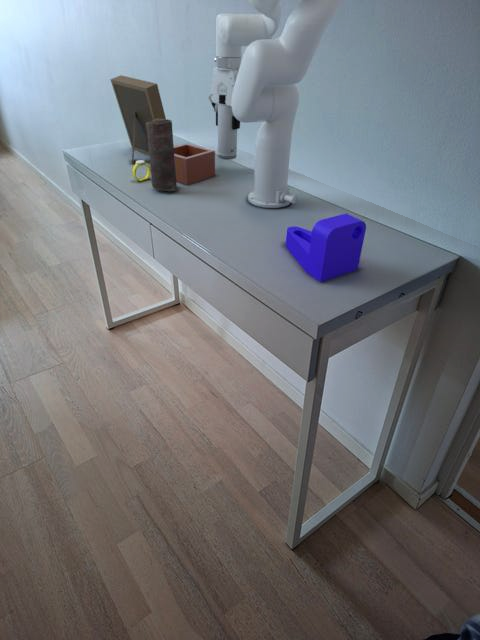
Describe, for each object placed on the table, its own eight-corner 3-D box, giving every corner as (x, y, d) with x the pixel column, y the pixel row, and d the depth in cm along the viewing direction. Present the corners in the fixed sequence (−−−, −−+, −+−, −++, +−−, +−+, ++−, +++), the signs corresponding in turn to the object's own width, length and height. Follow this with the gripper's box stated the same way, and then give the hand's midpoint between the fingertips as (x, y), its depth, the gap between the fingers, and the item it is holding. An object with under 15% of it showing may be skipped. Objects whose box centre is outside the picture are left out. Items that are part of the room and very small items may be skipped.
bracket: (357, 269, 101) (367, 219, 94) (320, 281, 96) (328, 230, 89) (305, 238, 113) (311, 192, 106) (270, 248, 108) (273, 200, 101)
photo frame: (141, 146, 175) (134, 74, 161) (175, 160, 163) (171, 82, 148) (107, 153, 167) (96, 77, 152) (140, 167, 154) (132, 86, 140)
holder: (215, 175, 150) (215, 150, 145) (187, 185, 142) (186, 159, 137) (187, 167, 157) (186, 143, 152) (159, 175, 148) (157, 150, 144)
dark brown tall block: (160, 195, 134) (154, 123, 122) (147, 188, 138) (140, 118, 127) (181, 190, 138) (178, 120, 126) (168, 183, 142) (164, 115, 131)
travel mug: (237, 160, 149) (239, 93, 137) (217, 159, 149) (217, 92, 137) (237, 154, 154) (239, 89, 143) (218, 153, 154) (218, 88, 143)
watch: (147, 177, 147) (146, 158, 143) (152, 179, 145) (151, 160, 142) (132, 181, 143) (129, 162, 140) (137, 183, 142) (134, 164, 138)
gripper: (199, 61, 138) (200, 124, 148) (242, 67, 129) (240, 134, 139) (215, 59, 142) (215, 120, 153) (259, 65, 134) (256, 129, 144)
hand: (227, 126), depth 146 cm, fingers closed on travel mug, 6 cm apart
